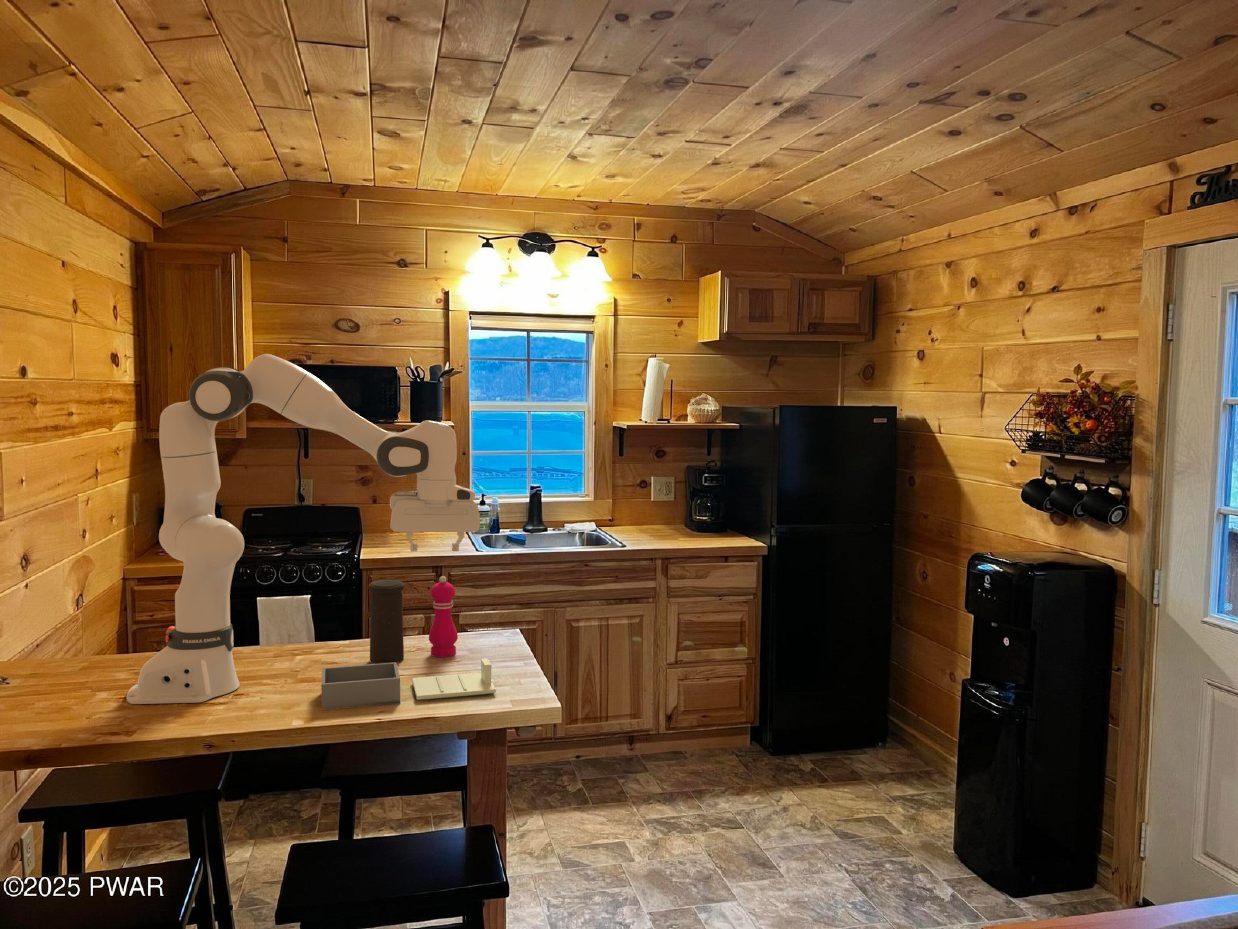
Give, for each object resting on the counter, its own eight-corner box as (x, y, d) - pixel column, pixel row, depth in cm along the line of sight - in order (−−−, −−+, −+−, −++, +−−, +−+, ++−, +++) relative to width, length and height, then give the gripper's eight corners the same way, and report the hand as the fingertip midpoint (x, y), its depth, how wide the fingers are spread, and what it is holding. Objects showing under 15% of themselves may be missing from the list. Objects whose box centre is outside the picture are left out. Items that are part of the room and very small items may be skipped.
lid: (417, 704, 198) (416, 676, 198) (412, 685, 211) (411, 659, 210) (495, 697, 203) (495, 669, 203) (486, 679, 216) (486, 653, 215)
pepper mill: (435, 659, 230) (434, 580, 228) (424, 652, 236) (424, 575, 234) (462, 655, 234) (461, 577, 232) (451, 648, 240) (450, 572, 238)
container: (410, 655, 233) (409, 577, 231) (398, 666, 224) (397, 585, 222) (376, 654, 234) (375, 576, 232) (363, 665, 225) (362, 584, 223)
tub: (321, 710, 193) (321, 684, 193) (322, 692, 204) (322, 668, 204) (400, 703, 198) (400, 678, 197) (396, 686, 209) (396, 662, 209)
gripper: (390, 492, 207) (388, 553, 208) (481, 493, 213) (480, 552, 213) (389, 489, 213) (387, 549, 214) (478, 490, 219) (476, 548, 219)
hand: (434, 551), depth 214 cm, fingers open, 8 cm apart
